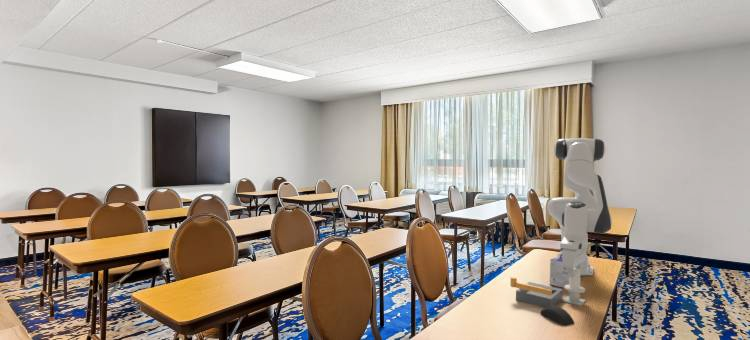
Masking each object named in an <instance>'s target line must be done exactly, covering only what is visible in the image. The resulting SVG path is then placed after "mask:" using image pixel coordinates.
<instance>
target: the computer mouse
mask: <svg viewBox="0 0 750 340" xmlns="http://www.w3.org/2000/svg"><path fill="white" fill-rule="evenodd" d="M540 315H541V316H542V317H544V318H546V319H548V320H550V321H552V322H554V323H557V324H558V325H561V326H570V325H574V324H575V321H574V319H573V318H572V316H571V314H570V313H569V312H568V311H567V310H565V309H564V308H563V307H561V306H554V307H548V308H545V307H544V308H543V309H541V310H540Z"/></svg>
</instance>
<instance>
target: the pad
mask: <svg viewBox="0 0 750 340" xmlns="http://www.w3.org/2000/svg"><path fill="white" fill-rule="evenodd" d="M562 302H563V303H567V304H569V305H570V304H571V305H575V306H578V307H582V306H583V305H584V303H586V299H585V298H580V301H579V302H574V301H571V300H569V295H567V296H565V297H564V298H563V299H562Z"/></svg>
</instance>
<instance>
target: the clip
mask: <svg viewBox="0 0 750 340" xmlns="http://www.w3.org/2000/svg"><path fill="white" fill-rule="evenodd" d="M510 287H512V288H516V289H519V288H520V289H524V290H529V291H533V292H537V293H542V294H546V295H550V296H551V295H552V290H549V289H545V288H541V287H536V286H532V285H529V284H527V283H524V282H520V281H518V279H517V277H514V276H513V277H512V276H511V277H510Z"/></svg>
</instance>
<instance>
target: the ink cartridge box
mask: <svg viewBox="0 0 750 340" xmlns="http://www.w3.org/2000/svg"><path fill="white" fill-rule="evenodd" d="M561 256H562V254H561V255H560V258H557V257H553V258H551V259H550V260H549V261H550V262H549V285H550V286H551V285H552V286H554V287H559V288H561V289H564V286H565V285H569V276H568V270H567V268H564V266H563V260H562V257H561ZM575 268H576V267H575Z"/></svg>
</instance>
